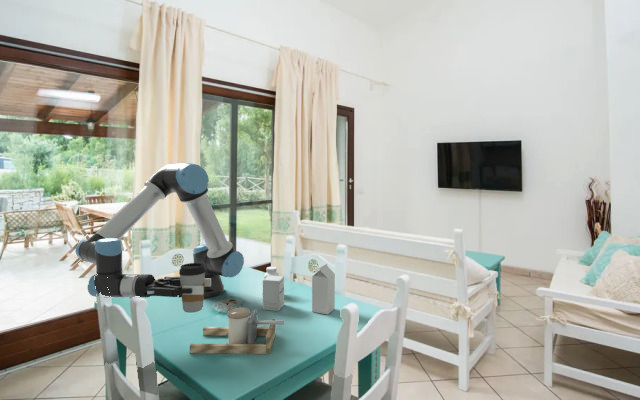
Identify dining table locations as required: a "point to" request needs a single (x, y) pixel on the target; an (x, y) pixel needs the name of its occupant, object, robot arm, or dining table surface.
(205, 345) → the lane
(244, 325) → the cream jar
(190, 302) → the coffee cup
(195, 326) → the dining table surface
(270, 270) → the supplement bottle
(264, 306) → the supplement box
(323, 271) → the milk carton
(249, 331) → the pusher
